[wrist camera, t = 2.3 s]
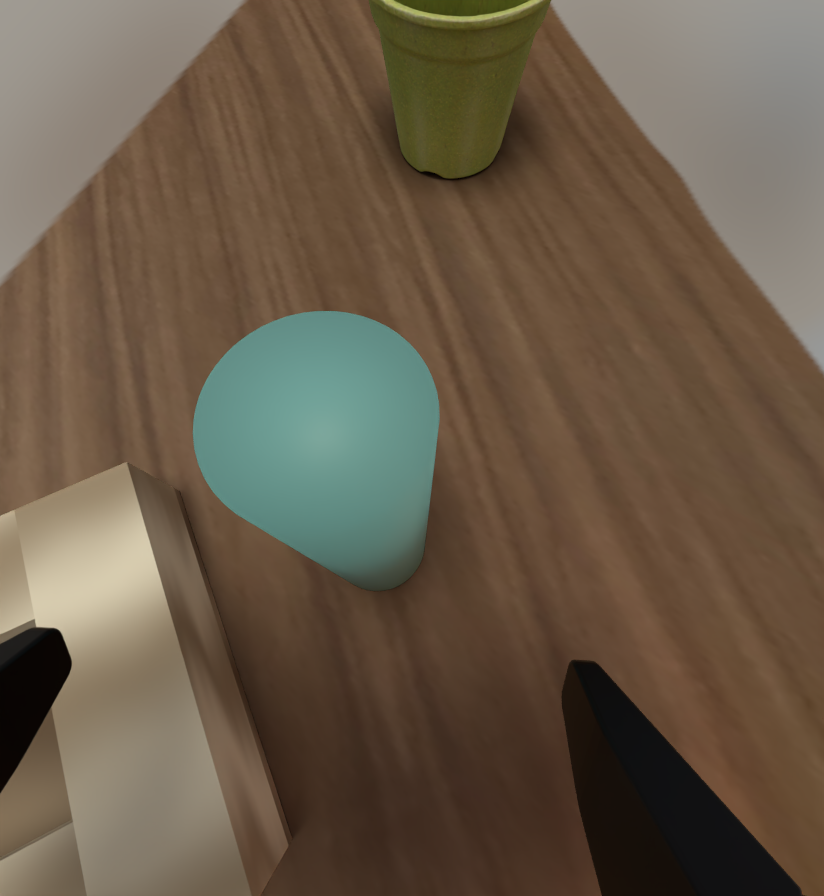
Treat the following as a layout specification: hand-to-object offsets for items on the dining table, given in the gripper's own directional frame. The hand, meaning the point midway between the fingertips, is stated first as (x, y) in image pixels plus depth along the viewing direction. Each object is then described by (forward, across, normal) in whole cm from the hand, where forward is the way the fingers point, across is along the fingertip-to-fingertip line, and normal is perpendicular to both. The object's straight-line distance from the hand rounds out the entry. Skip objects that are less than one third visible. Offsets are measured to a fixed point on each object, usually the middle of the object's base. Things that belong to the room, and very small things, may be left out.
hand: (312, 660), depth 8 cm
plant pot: (+28, -2, -12) cm, 30 cm away
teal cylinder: (+10, 0, +5) cm, 12 cm away
